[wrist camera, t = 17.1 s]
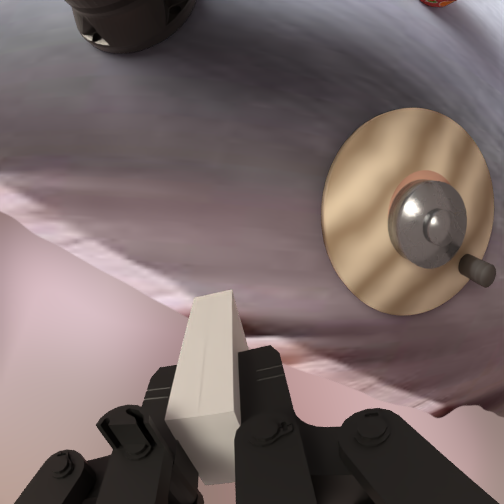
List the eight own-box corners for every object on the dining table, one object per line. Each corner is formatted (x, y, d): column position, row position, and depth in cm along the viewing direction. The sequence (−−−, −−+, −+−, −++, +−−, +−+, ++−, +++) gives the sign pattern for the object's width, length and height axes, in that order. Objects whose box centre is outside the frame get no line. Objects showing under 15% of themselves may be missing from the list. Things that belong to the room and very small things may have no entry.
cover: (371, 228, 34) (389, 237, 29) (419, 161, 32) (441, 162, 28) (421, 276, 36) (440, 289, 32) (463, 215, 34) (485, 221, 30)
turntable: (274, 232, 35) (284, 247, 29) (401, 69, 31) (431, 54, 24) (411, 339, 41) (434, 365, 34) (506, 203, 36) (537, 211, 29)
